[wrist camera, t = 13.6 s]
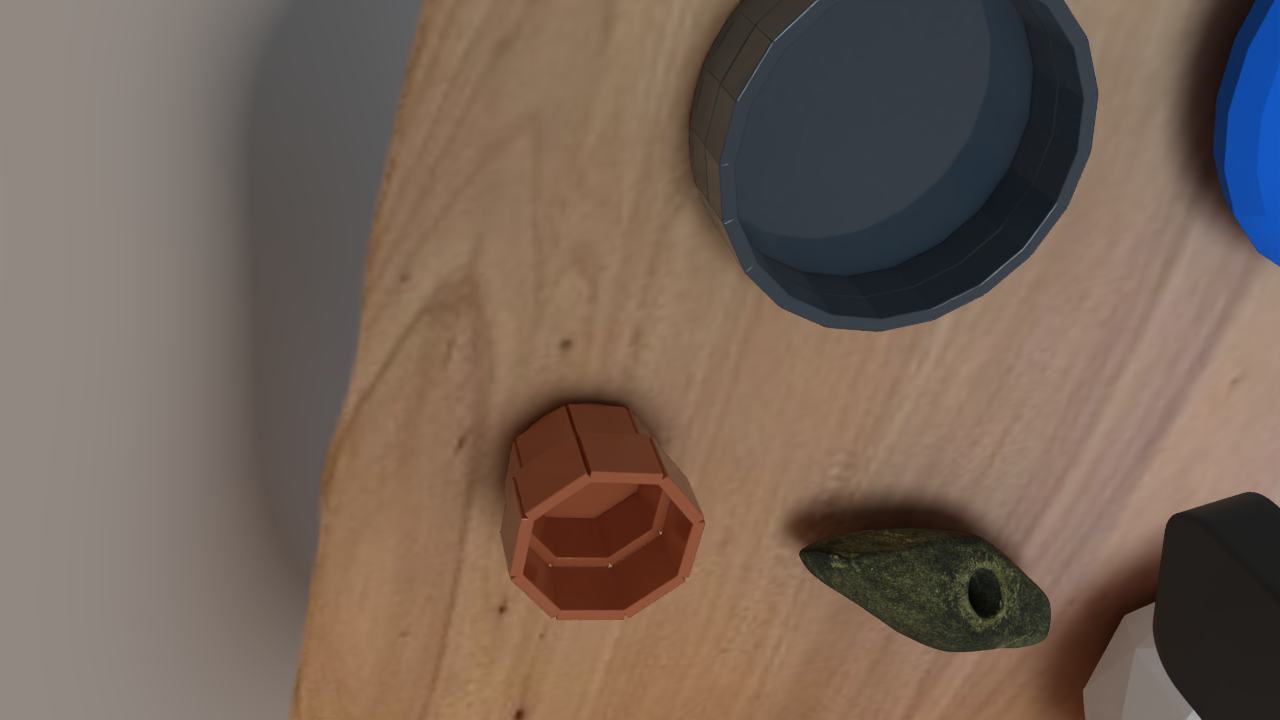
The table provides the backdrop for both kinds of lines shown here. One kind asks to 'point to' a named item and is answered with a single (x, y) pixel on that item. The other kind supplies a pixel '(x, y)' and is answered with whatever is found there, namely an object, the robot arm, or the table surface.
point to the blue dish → (1252, 128)
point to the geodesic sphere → (1133, 677)
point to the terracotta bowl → (596, 515)
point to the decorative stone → (934, 587)
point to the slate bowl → (890, 148)
